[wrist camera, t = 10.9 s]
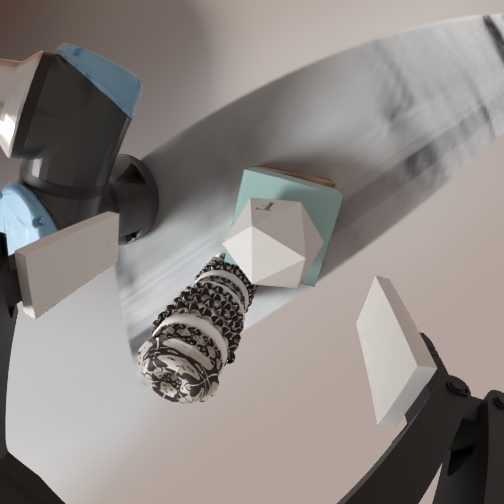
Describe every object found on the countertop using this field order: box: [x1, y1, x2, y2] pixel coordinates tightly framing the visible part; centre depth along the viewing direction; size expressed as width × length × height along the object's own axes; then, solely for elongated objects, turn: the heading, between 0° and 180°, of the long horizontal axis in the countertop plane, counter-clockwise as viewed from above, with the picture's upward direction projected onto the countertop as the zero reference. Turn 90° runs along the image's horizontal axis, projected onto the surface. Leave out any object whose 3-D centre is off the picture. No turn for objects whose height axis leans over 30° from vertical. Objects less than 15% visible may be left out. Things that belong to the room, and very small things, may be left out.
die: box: [222, 197, 324, 288], centre depth 28 cm, size 8×9×10 cm
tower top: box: [224, 167, 343, 287], centre depth 34 cm, size 10×10×6 cm
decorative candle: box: [138, 250, 258, 404], centre depth 36 cm, size 9×9×25 cm
